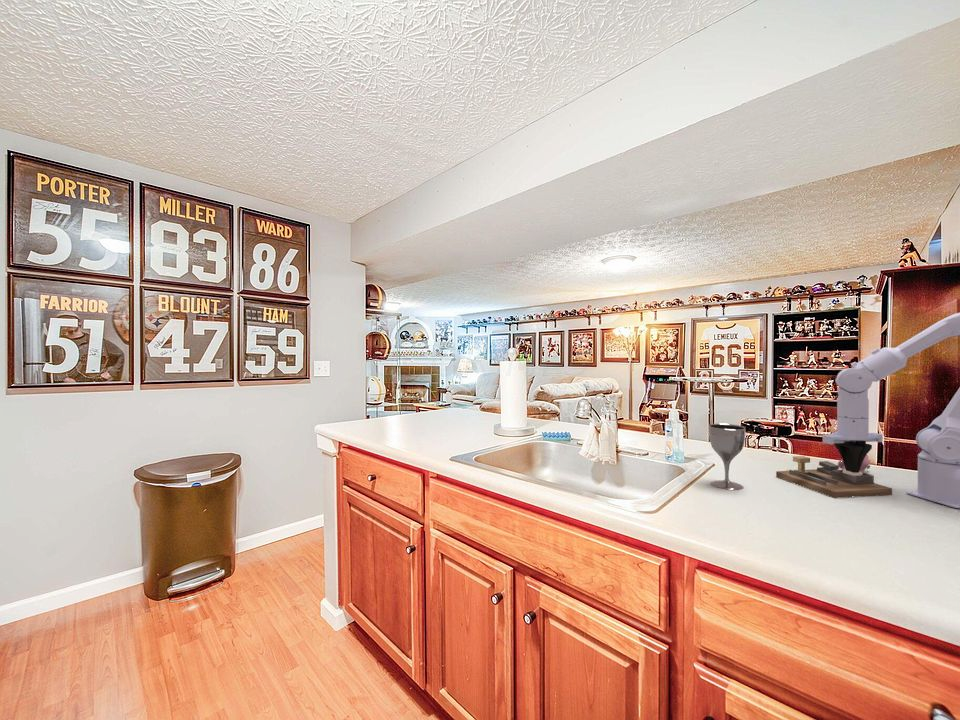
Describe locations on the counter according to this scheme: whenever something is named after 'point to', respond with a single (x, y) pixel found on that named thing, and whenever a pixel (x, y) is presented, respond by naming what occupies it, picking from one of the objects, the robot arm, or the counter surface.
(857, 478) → the control panel
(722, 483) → the wine glass
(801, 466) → the slide lever
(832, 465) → the rocker switch
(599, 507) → the counter surface
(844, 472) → the push button
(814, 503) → the counter surface
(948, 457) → the robot arm
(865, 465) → the pink toy figure
